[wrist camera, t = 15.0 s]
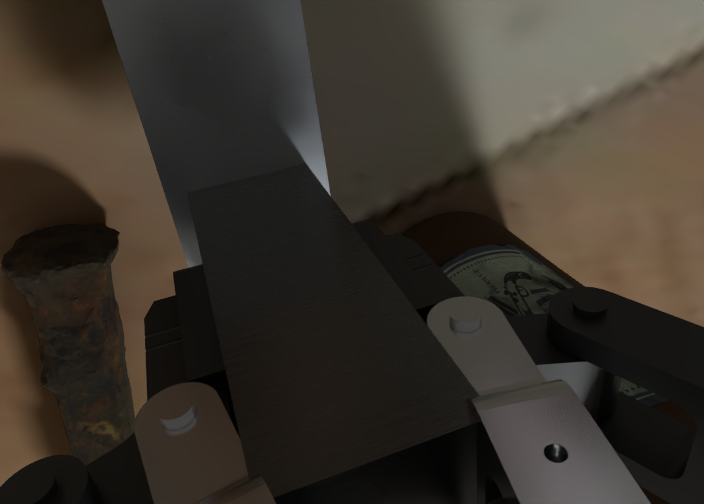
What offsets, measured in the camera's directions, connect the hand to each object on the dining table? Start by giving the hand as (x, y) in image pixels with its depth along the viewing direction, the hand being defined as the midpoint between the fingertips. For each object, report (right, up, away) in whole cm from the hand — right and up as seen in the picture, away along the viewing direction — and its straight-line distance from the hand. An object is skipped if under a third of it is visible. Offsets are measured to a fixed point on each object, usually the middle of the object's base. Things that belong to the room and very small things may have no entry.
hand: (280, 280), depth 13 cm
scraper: (-2, +3, +5) cm, 6 cm away
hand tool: (-10, -6, +16) cm, 20 cm away
